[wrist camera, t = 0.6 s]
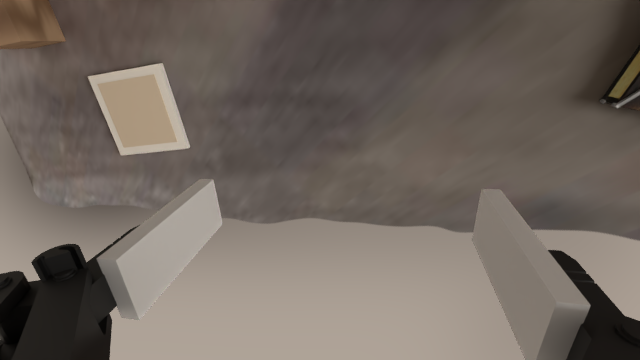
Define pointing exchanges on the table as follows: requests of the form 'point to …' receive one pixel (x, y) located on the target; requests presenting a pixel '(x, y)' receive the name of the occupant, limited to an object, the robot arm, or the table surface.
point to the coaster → (140, 110)
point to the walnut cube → (28, 24)
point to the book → (626, 86)
